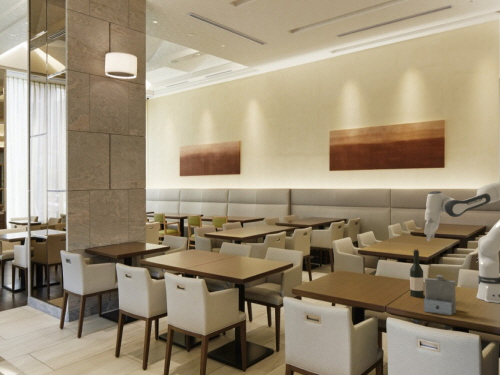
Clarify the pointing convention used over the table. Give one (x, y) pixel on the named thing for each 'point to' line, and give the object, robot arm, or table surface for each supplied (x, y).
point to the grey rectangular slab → (441, 290)
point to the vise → (438, 306)
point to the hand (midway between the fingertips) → (430, 239)
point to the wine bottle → (416, 277)
